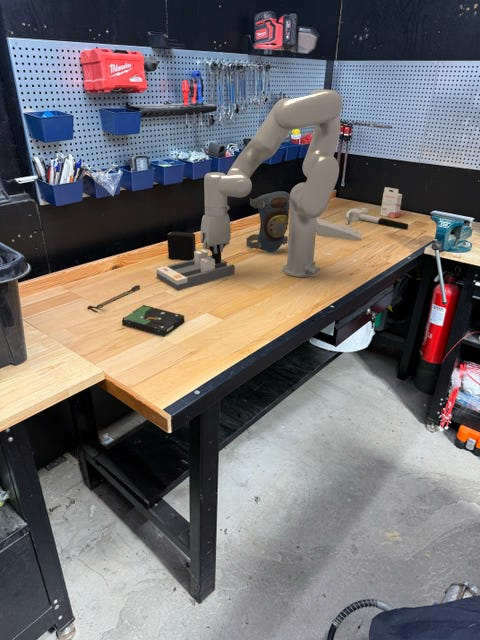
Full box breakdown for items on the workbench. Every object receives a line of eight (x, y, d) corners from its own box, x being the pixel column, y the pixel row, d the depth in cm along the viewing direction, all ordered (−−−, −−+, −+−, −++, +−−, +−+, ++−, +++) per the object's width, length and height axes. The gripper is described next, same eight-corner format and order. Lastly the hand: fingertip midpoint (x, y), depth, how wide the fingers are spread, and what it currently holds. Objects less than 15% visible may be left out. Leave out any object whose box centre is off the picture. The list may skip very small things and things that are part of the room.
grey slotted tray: (234, 274, 165) (234, 265, 163) (177, 290, 151) (177, 280, 150) (212, 263, 174) (212, 254, 173) (156, 277, 161) (156, 268, 159)
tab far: (208, 264, 167) (207, 250, 165) (199, 266, 165) (198, 252, 163) (203, 262, 170) (203, 248, 167) (194, 264, 167) (194, 250, 165)
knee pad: (258, 258, 180) (260, 194, 168) (238, 244, 196) (238, 184, 184) (298, 252, 186) (302, 190, 175) (275, 239, 202) (278, 181, 191)
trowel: (371, 238, 207) (372, 226, 205) (351, 245, 197) (353, 233, 195) (321, 225, 225) (322, 214, 222) (301, 231, 215) (302, 220, 213)
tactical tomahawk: (101, 317, 136) (100, 314, 135) (86, 310, 139) (86, 306, 138) (151, 293, 151) (151, 290, 150) (137, 287, 154) (137, 284, 153)
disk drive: (185, 323, 132) (143, 312, 138) (185, 315, 131) (143, 304, 136) (164, 339, 124) (121, 326, 129) (164, 330, 122) (120, 317, 128)
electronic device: (193, 261, 177) (192, 236, 172) (168, 259, 178) (166, 234, 174) (196, 257, 180) (195, 233, 176) (172, 255, 182) (170, 231, 177)
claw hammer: (415, 217, 223) (360, 205, 240) (397, 227, 208) (339, 213, 225) (413, 228, 226) (358, 215, 243) (394, 238, 211) (337, 224, 228)
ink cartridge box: (399, 216, 240) (404, 188, 233) (394, 218, 237) (398, 189, 230) (384, 213, 246) (389, 185, 239) (379, 215, 242) (384, 186, 236)
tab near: (214, 272, 160) (214, 258, 158) (205, 274, 158) (205, 260, 156) (210, 269, 162) (209, 255, 160) (200, 272, 160) (200, 258, 158)
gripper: (227, 206, 160) (227, 255, 168) (191, 212, 151) (193, 264, 160) (240, 210, 154) (239, 261, 163) (203, 216, 146) (205, 270, 155)
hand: (216, 262), depth 161 cm, fingers closed
